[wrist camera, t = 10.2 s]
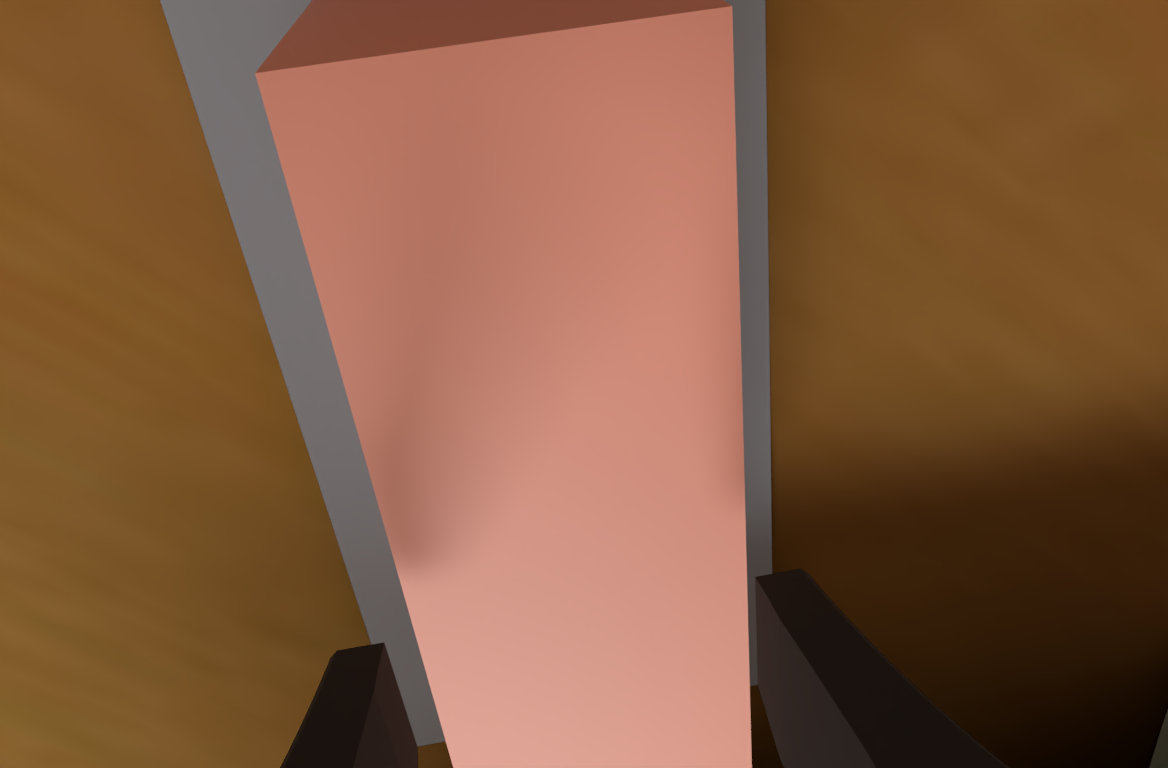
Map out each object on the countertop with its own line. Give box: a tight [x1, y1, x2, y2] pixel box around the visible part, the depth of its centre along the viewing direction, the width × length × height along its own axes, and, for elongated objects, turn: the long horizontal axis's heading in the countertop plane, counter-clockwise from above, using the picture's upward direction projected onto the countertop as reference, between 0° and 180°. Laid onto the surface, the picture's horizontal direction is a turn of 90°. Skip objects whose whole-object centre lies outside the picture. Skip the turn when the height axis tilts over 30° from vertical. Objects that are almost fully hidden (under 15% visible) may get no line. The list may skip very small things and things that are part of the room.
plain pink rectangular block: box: [255, 0, 752, 768], centre depth 15 cm, size 5×13×5 cm, turn 6°
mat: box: [160, 0, 772, 747], centre depth 18 cm, size 9×18×1 cm, turn 6°
